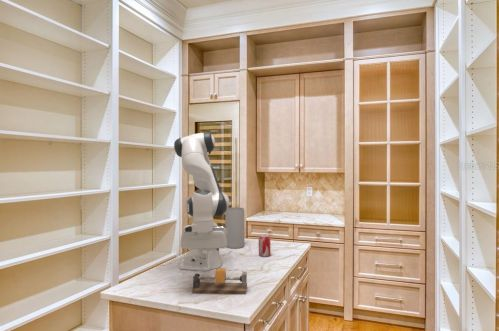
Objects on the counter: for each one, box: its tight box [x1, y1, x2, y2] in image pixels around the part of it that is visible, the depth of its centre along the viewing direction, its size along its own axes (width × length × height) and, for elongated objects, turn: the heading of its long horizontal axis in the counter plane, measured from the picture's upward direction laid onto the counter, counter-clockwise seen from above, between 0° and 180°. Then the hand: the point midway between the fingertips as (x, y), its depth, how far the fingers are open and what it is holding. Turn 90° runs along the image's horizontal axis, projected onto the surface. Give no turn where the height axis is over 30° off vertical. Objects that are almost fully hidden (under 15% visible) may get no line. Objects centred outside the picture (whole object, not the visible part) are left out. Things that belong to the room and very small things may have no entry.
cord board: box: [191, 271, 248, 295], centre depth 144 cm, size 23×9×8 cm, turn 86°
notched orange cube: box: [214, 267, 227, 283], centre depth 144 cm, size 4×4×5 cm
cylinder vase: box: [224, 206, 245, 249], centre depth 218 cm, size 12×12×25 cm
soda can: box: [258, 234, 271, 258], centre depth 196 cm, size 7×7×12 cm
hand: (204, 258), depth 144 cm, fingers closed
